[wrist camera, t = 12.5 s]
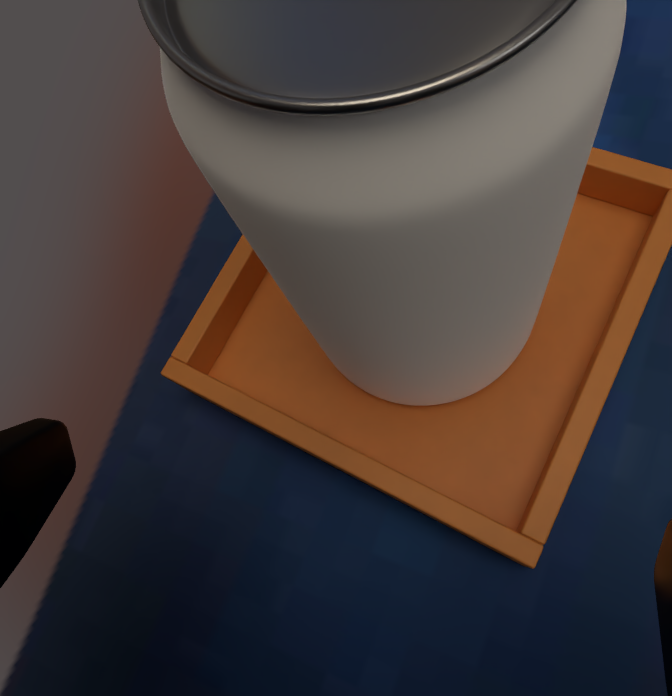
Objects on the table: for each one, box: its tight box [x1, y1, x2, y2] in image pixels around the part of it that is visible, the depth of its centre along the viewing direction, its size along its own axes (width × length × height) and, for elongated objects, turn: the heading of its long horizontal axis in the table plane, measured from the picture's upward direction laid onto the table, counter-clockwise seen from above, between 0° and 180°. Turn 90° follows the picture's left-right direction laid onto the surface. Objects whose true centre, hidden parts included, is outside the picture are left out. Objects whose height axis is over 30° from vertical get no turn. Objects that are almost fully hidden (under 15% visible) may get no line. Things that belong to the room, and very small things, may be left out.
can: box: [138, 0, 626, 406], centre depth 12 cm, size 6×6×12 cm
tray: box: [161, 147, 672, 568], centre depth 18 cm, size 11×11×2 cm
